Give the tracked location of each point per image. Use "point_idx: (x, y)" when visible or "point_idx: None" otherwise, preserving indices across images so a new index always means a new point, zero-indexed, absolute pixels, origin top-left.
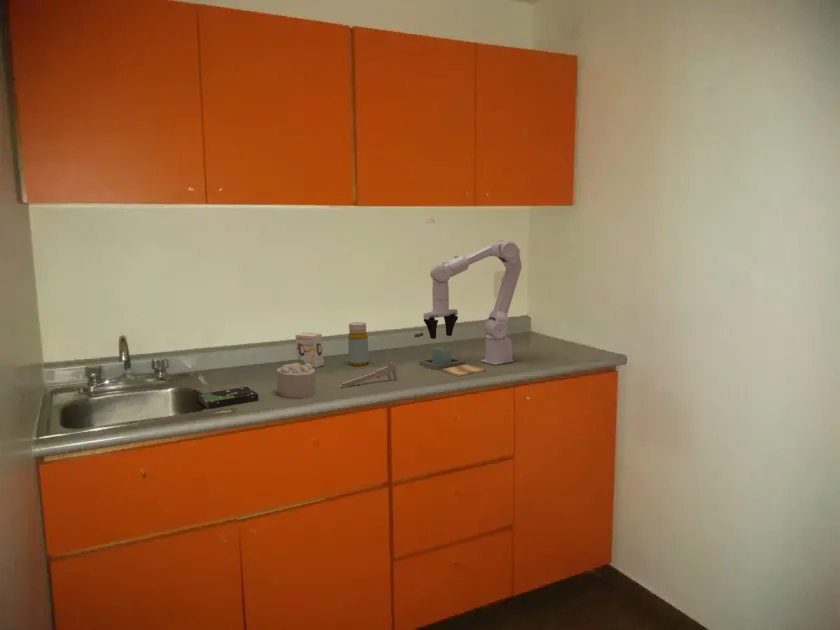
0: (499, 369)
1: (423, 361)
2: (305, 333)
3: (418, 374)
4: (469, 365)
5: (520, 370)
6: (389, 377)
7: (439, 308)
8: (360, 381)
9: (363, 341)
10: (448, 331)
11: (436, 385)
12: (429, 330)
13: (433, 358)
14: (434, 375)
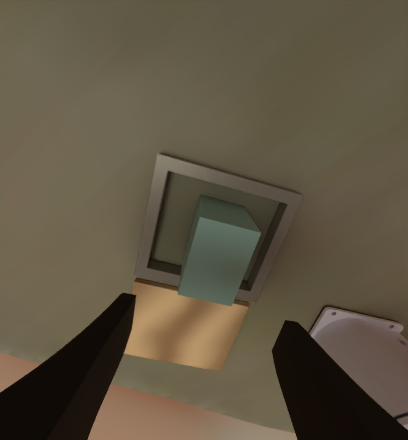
0: (254, 380)
1: (157, 181)
2: None
3: (45, 248)
4: (236, 320)
5: (270, 413)
6: None
7: None
8: None
9: None
10: (292, 367)
11: (3, 352)
12: (80, 346)
13: (197, 211)
14: (77, 293)
